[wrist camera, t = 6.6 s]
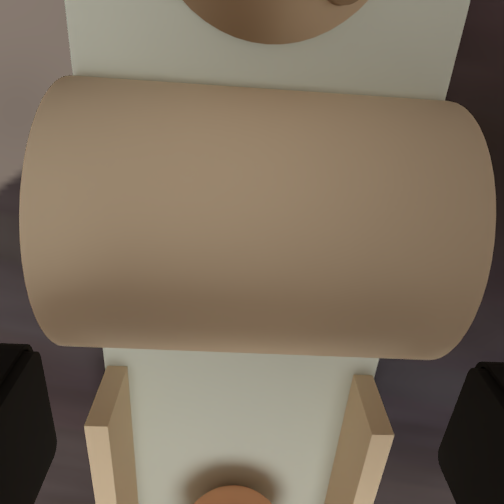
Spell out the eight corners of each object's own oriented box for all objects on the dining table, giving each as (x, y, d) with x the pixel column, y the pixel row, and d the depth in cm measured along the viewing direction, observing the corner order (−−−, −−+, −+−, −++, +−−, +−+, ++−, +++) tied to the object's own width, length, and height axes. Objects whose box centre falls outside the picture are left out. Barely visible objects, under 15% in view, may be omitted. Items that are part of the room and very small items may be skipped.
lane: (479, -222, 12) (794, -539, 5) (310, 545, 29) (333, 714, 22) (74, -264, 12) (-174, -681, 5) (140, 543, 29) (107, 715, 22)
